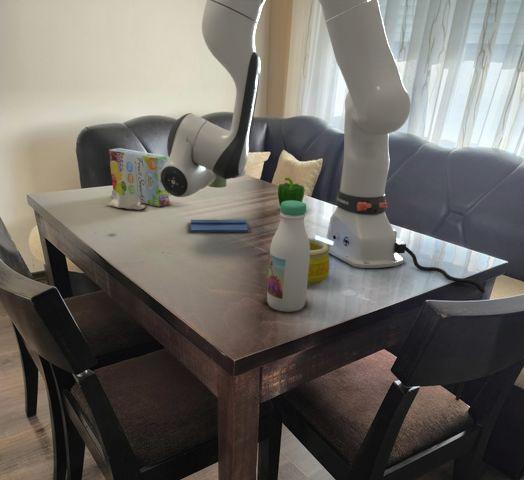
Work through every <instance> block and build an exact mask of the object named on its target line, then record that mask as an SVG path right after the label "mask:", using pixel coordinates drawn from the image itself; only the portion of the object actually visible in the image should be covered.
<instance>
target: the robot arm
mask: <svg viewBox="0 0 524 480" xmlns="http://www.w3.org/2000/svg"><path fill="white" fill-rule="evenodd" d="M265 2H266V0H206V2H205V5H204V10H203V14H202V21H201V32H202V38H203V40H204V43H205V45H206V47H207V49H208V50H209V52H210V53H211V55H212V56H213V57H214V58H215V59H216V60H217V62H218V63H219V64H220V65H221V66H222V67H223V68H224V69H225V70H226V72H228V74H229V75H230V77H231V78H232V80H233V83H234V85H235V91H236V93H235V99H234V100H235V101H234V108H233V114H232V121H231V125H230V130H228V129H225V128H223V127H221V126H219V125H217V124H214V123H212V122H210V121H209V120H208V119H205V118H203V117H201V116H199V115H196V114H194V113H192V112H188V113H185V114H184V115H182V116H180V117H179V118H178V119H176V120H175V122H173V124H172V125H171V127H170V129H169V132H168V137H167V141H166V142H167V143H166V150H167V151H166V152H167V163H166V164H165V165H164V167H163V168H162V170H161V174H160V179H161V183H162V185H163V187H164V188H165V190H166V191H167V192H168V193H169V195H171V196H173V197H176V198H185V197H189V196H191V195H194V194H197V193H198V192H199V191H200V190H203V189H204V188H206V187H209V186H208V185H210V184H212V183H213V182H214V180H215V179H216V177H222V178H224V179H227V180H230V179H238V178H240V177H243V176H245V175H246V173H247V163H248V159H249V150H250V140H251V133H252V127H253V121H254V116H255V109H256V106H257V105H256V104H257V100H258V99H257V97H258V92H259V85H260V80H261V79H260V77H261V69H262V67H261V65H262V64H261V63H262V62H261V57H260V56H259V55H258V53H257V50H256V30H257V28H258V23H259V20H260V17H261V13H262V10H263V8H264V5H265ZM318 2H319V4H320V5H321V9H322V14H323V18H324V22H325V25H326V29H327V33H328V36H329V39H330V44H331V47H332V50H333V51H332V52H333V54H334V57H335V61H336V64H337V66H338V68H339V71H340V72H341V75H342V77H343V80H344V82H345V85H346V86H347V90H348V92H347V94H346V96H345V100H344V124H343V125H344V126H343V127H344V128H343V137H344V138H343V141H344V142H343V163H342V171H341V178H340V185H339V187H340V188H339V190H338V191H337V195H336V202H335V203H336V208H335V210H334V211H333V213H332V215H331V216H330V218H329V223H328V229H327V233H326V238H325V237H321V236H319V235H315V237H314V239H317V240H320V241H323V242H325V243H326V244H327V245H328V246H329V251H328V253H329V255H330V254H331V255H332V256H334V257H335V258H338V259H339V260H340V261H343V262H345V263H347V264H349V265H350V266H352V267H355V268H360V269H361V268H362V269H380V268H382V269H383V268H390V267H396V266H400V265H402V264H403V263H404V258H403V257H402V256H401V255H400V254H405V253H407V254H408V255H410V257H411V259H412V263H413V265H414V267H416V269H418V270H420V271H424V272H437V273H440V274H441V275H442V276H443V277H444V278H445V279H447V280H449V281H451V282H455V283H462V284H463V283H464V284H470V285H472V286H475V287H476V288H477V289H478V291H479V292H480V293H483V294H485V293H486V290H485V289H484V287H483V285H482V284H480V283H479V282H478V281H476V280H473V279H470V278H462V277H454V276H452V275H450V274H449V273H448V272H447V271H446V270H445V269H443V268H440V267H436V266H423V265H421V264H419V262H418V259H417V256H416V254H415V253H414V252H413V251H412V250H411V249H410V248H408V247H407V243H406V242H405V241H403V240H402V239H401V238H400V237H397V235H398V234H397V230H396V229H393V227H392V225H391V223H390V221H389V219H388V217H387V215H386V211H387V208H388V207H389V206H388V204H389V202H387V199H386V194H385V191H386V186H387V179H388V175H389V174H388V173H389V169H390V162H391V161H390V160H391V159H390V153H389V152H390V151H389V136H390V134H393V133H395V132H397V131H399V130H400V129H401V128H402V127H403V126H404V125H405V124H406V122H407V120H408V118H409V116H410V113H411V105H412V104H411V98H410V95H409V93H408V91H407V89H406V87H405V85H404V83H403V79H402V76H401V73H400V71H399V68H398V65H397V62H396V61H395V57H394V54H393V52H392V50H391V47H390V44H389V41H388V37H387V34H386V29H385V25H384V20H383V17H382V13H381V8H380V4H379V0H318ZM465 384H466V381H465V382H464V383H461V382H460V383H459V386H458V389H457V392H456V395H455V399H454V400H455V401H457V402H459V401H460V398H461V395H462V392H463V389H464V386H465Z"/></svg>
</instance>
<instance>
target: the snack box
mask: <svg viewBox="0 0 524 480" xmlns="http://www.w3.org/2000/svg"><path fill="white" fill-rule="evenodd" d="M108 156H109V157H108V158H109V166H110V175H111V183H112V191H117V192H118V194H119V195H123V196H124V195H132V194H138V196H139V199H140V202H141V204H145V205H150V206H154V207H164V206H168V205H170V203H171V202H170V193H168V192H167V191H166V190H165V188H164V187H163V185H162V183H161V179H160V174H161V170H162V168H163V167H164V165H165V164H166V163H167V161H168V155H165V154H164V155H163V154H158V153H151V152H146V151H139V150H133V149H127V148H123V147H119V148H112V149H108Z"/></svg>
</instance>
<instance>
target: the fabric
mask: <svg viewBox="0 0 524 480" xmlns="http://www.w3.org/2000/svg"><path fill="white" fill-rule="evenodd" d="M111 197H112V199H111V200H110V202H109V203H108V206H110V207H114V208H116V209H117V208H118V209H127V210H136V211H137V210H142V209H144V208H146V205H141V204H142V203H141V202H140V199H139V196H138V194H132V195H124V196H123V195H119V194H118V192H117V191H113V190H111Z"/></svg>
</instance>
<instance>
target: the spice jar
mask: <svg viewBox="0 0 524 480" xmlns="http://www.w3.org/2000/svg"><path fill="white" fill-rule="evenodd" d="M227 181H228V179H224V178H222V177H216V179H215V180H214V182H213V183H212V184H210V185H208V186H207V187H210V188H214V189H215V188H216V189H217V188H218V189H219V188H220V189H221V188H226V187H227Z"/></svg>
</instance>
